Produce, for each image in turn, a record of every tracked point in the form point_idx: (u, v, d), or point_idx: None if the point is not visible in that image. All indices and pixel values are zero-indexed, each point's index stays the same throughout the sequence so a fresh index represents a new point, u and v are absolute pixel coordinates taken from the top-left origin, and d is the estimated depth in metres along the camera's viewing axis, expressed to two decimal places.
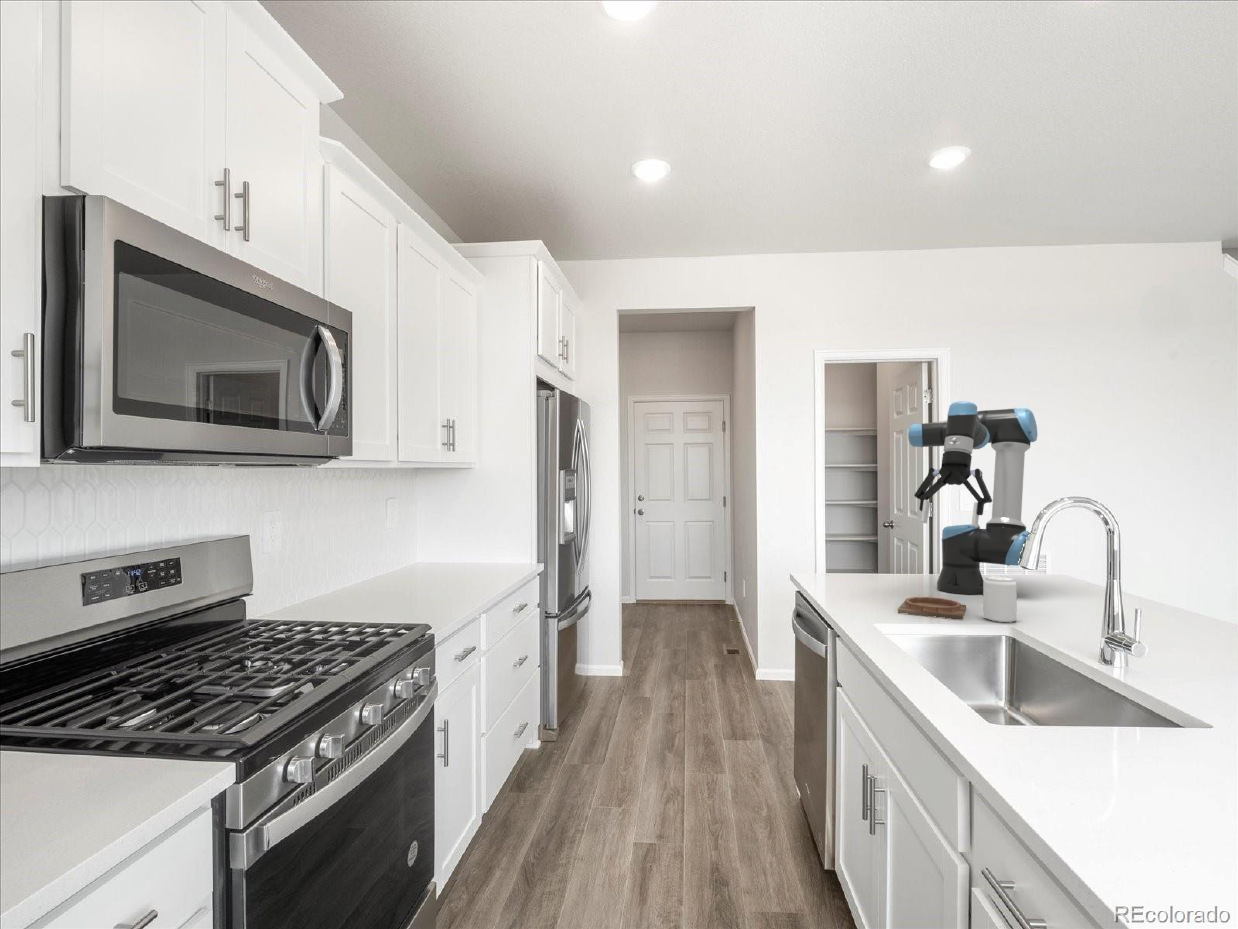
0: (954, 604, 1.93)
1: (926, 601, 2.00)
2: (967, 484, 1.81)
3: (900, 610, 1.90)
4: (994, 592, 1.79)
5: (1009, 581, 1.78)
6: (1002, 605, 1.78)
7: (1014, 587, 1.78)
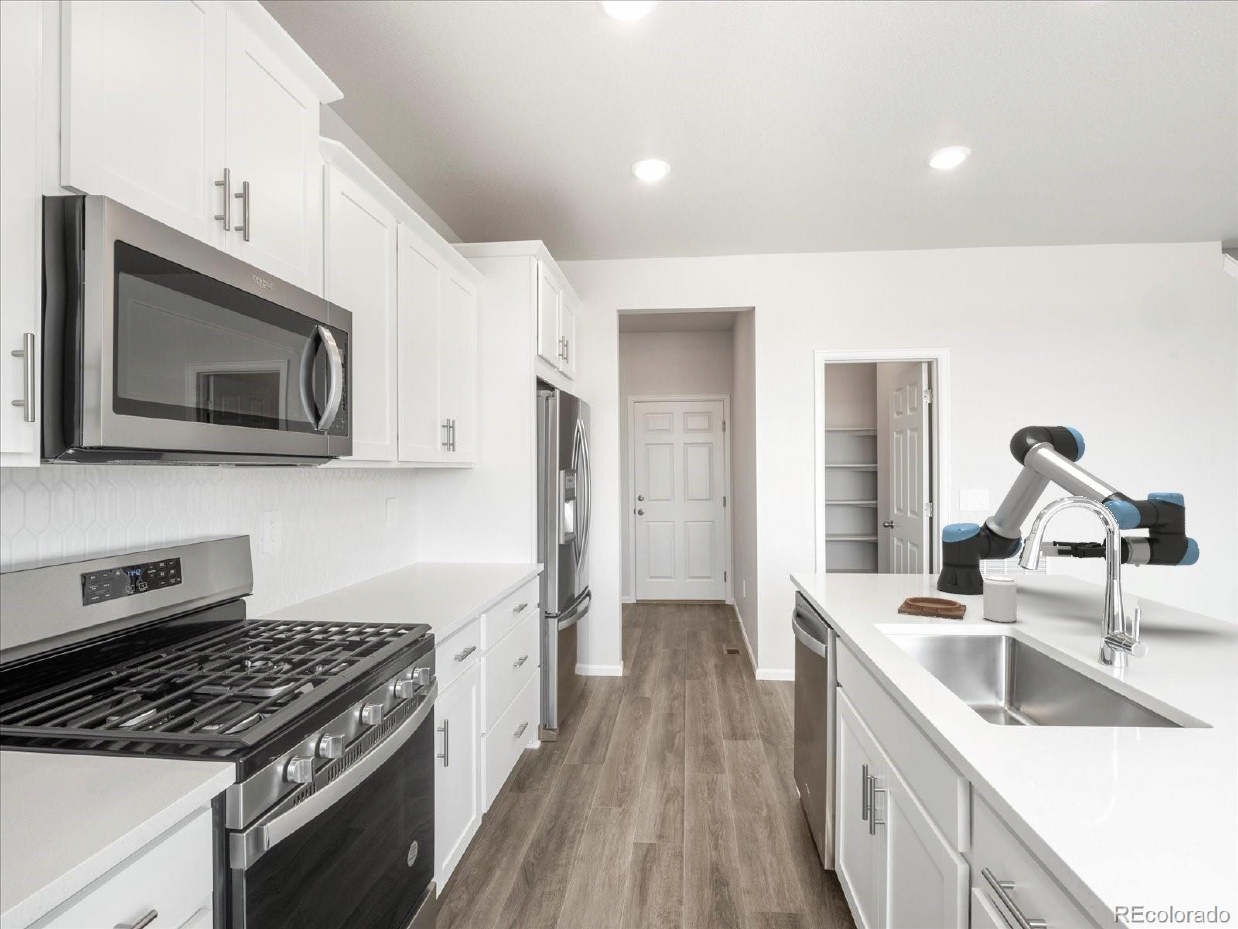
0: (954, 604, 1.93)
1: (926, 601, 2.00)
2: None
3: (900, 610, 1.90)
4: (993, 592, 1.79)
5: (1009, 581, 1.78)
6: (1002, 605, 1.78)
7: (1014, 587, 1.78)
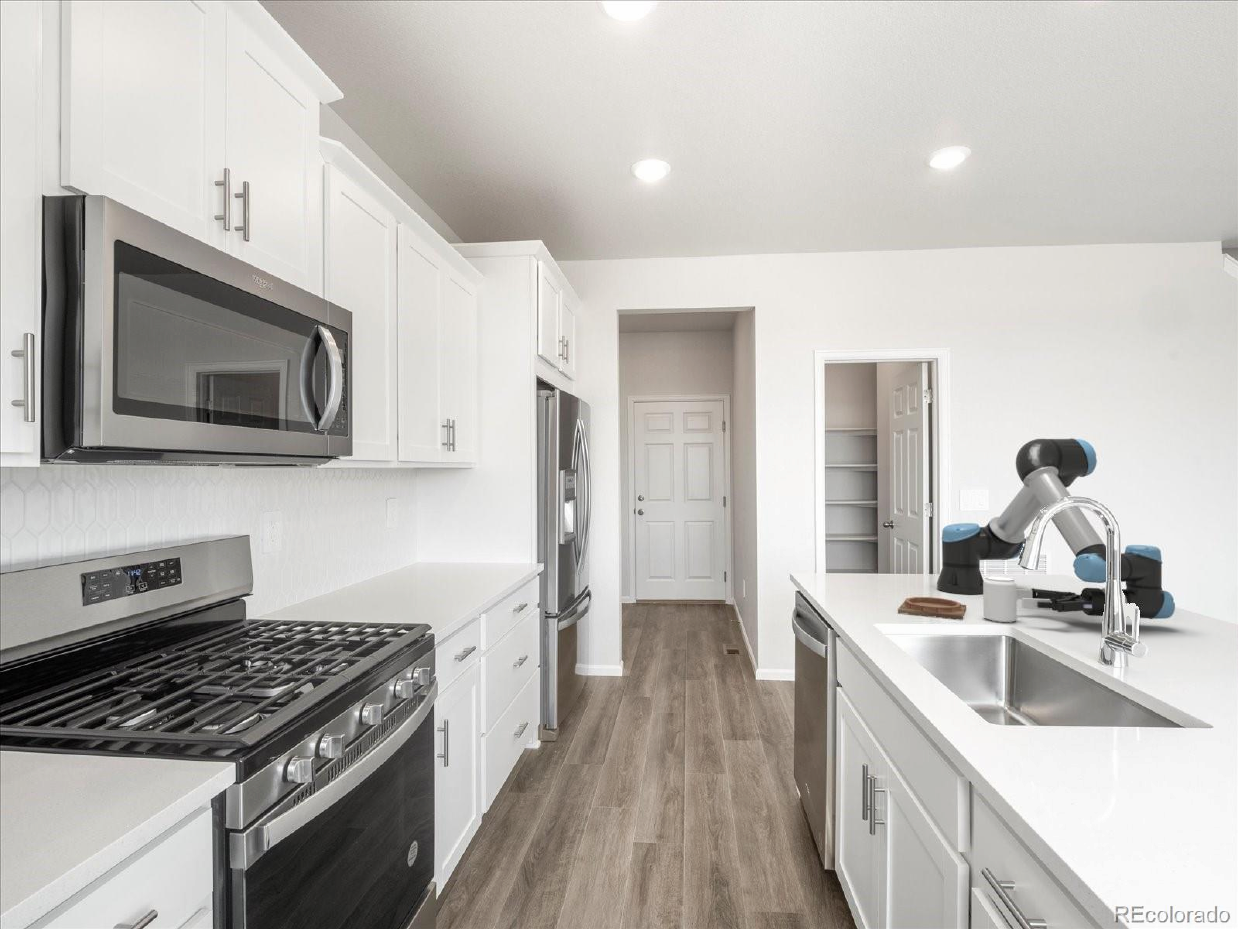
0: (954, 604, 1.93)
1: (926, 601, 2.00)
2: None
3: (900, 610, 1.90)
4: (993, 592, 1.79)
5: (1009, 581, 1.78)
6: (1002, 605, 1.78)
7: (1014, 587, 1.78)
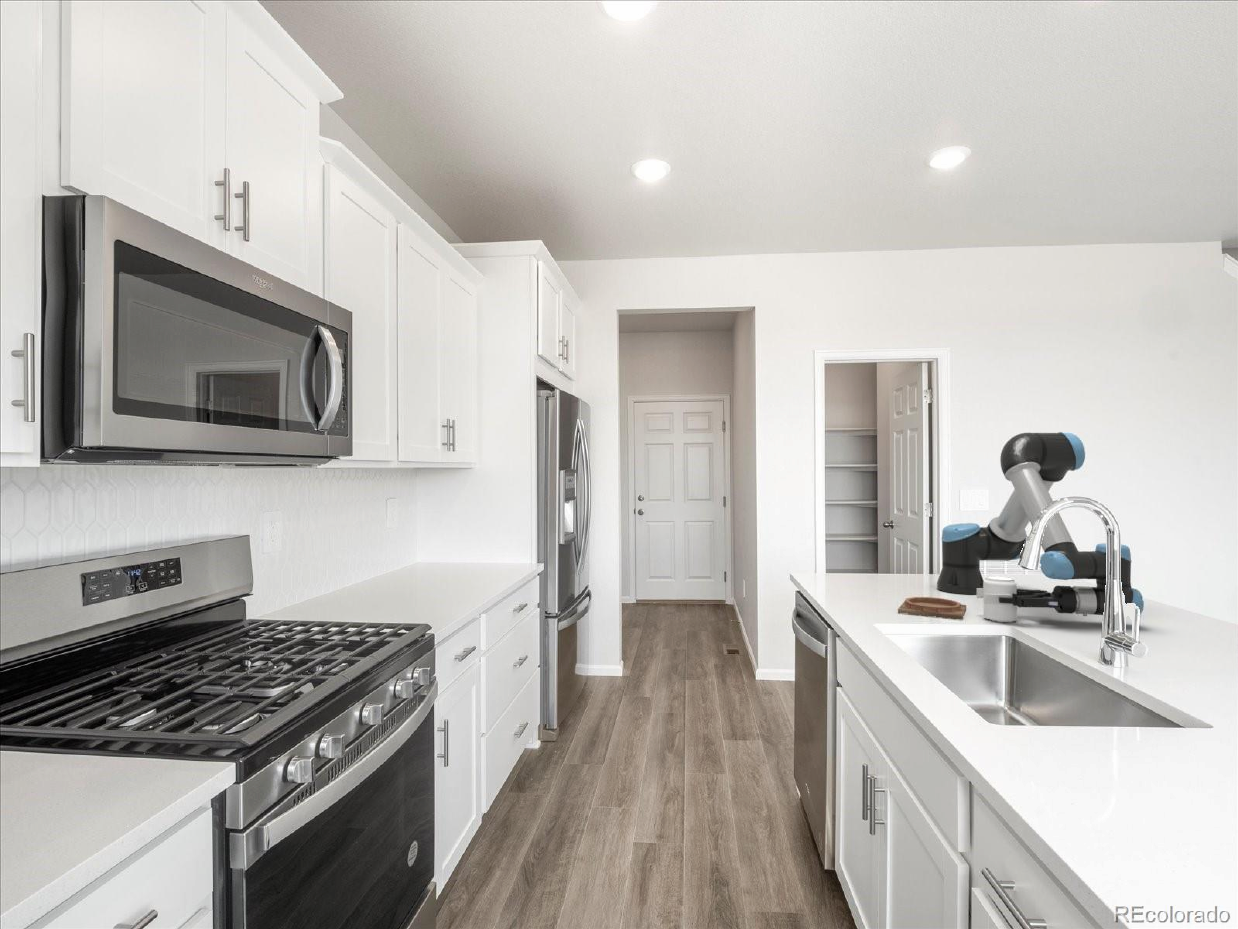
0: (954, 604, 1.93)
1: (926, 601, 2.00)
2: None
3: (900, 610, 1.90)
4: (994, 592, 1.79)
5: (1009, 581, 1.78)
6: (1002, 605, 1.78)
7: (1014, 587, 1.78)
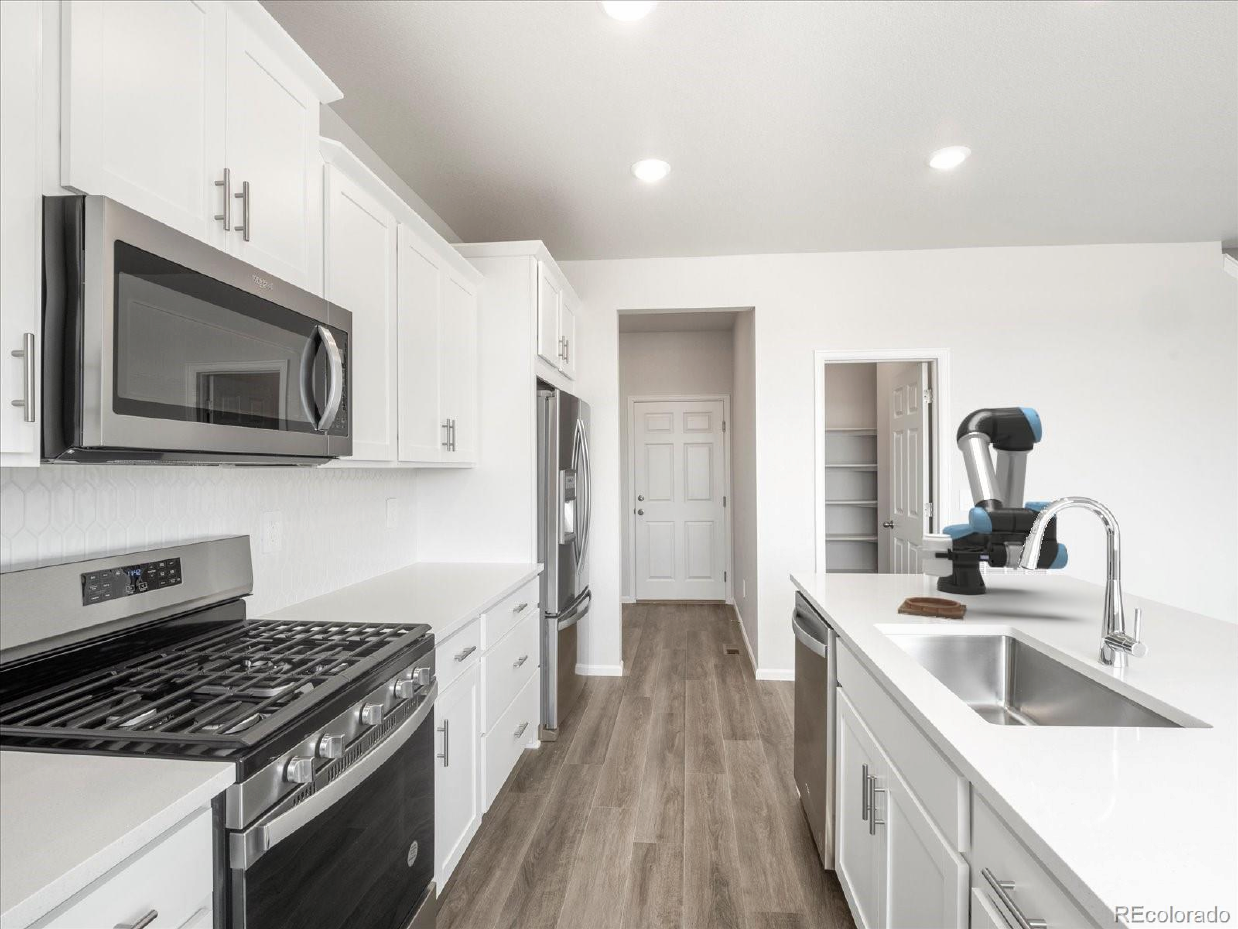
0: (954, 604, 1.93)
1: (926, 601, 2.00)
2: None
3: (900, 610, 1.90)
4: (931, 548, 1.90)
5: (945, 537, 1.89)
6: (938, 560, 1.88)
7: (950, 543, 1.89)
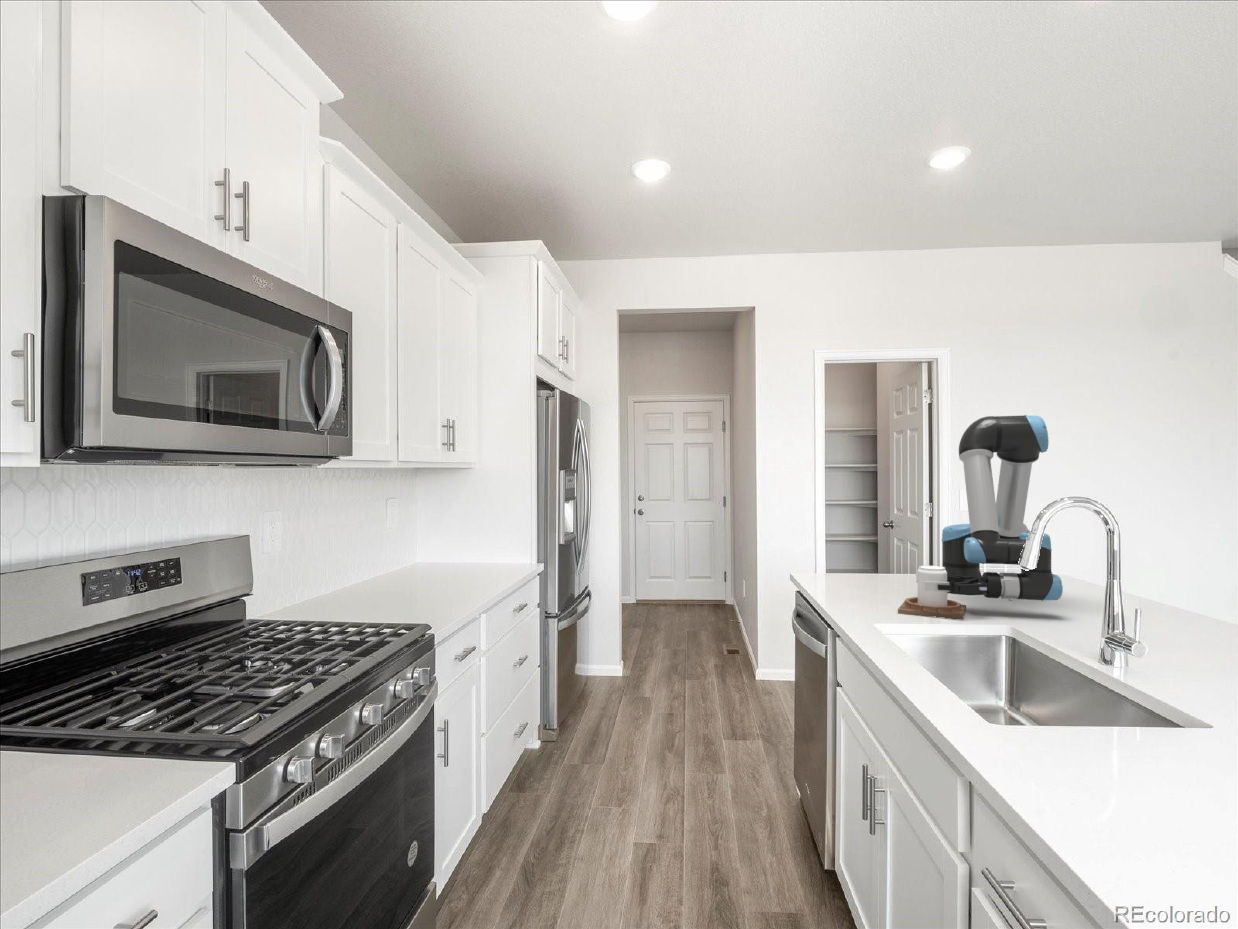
0: (954, 604, 1.93)
1: None
2: None
3: (900, 610, 1.90)
4: (925, 580, 1.91)
5: (940, 570, 1.90)
6: (933, 592, 1.90)
7: (944, 575, 1.90)
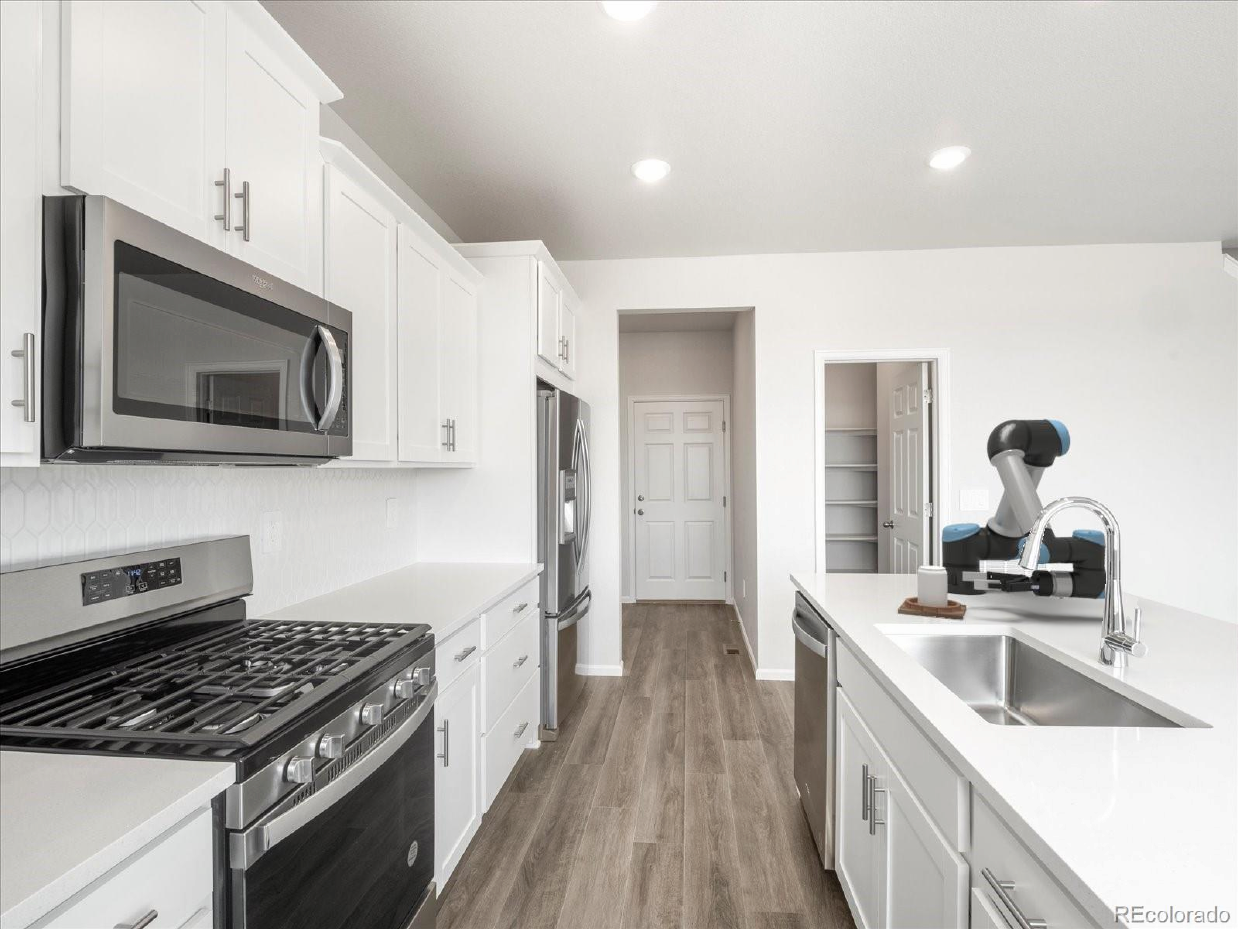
0: (954, 604, 1.93)
1: None
2: None
3: (900, 610, 1.90)
4: (926, 580, 1.91)
5: (940, 570, 1.90)
6: (934, 592, 1.90)
7: (945, 576, 1.90)
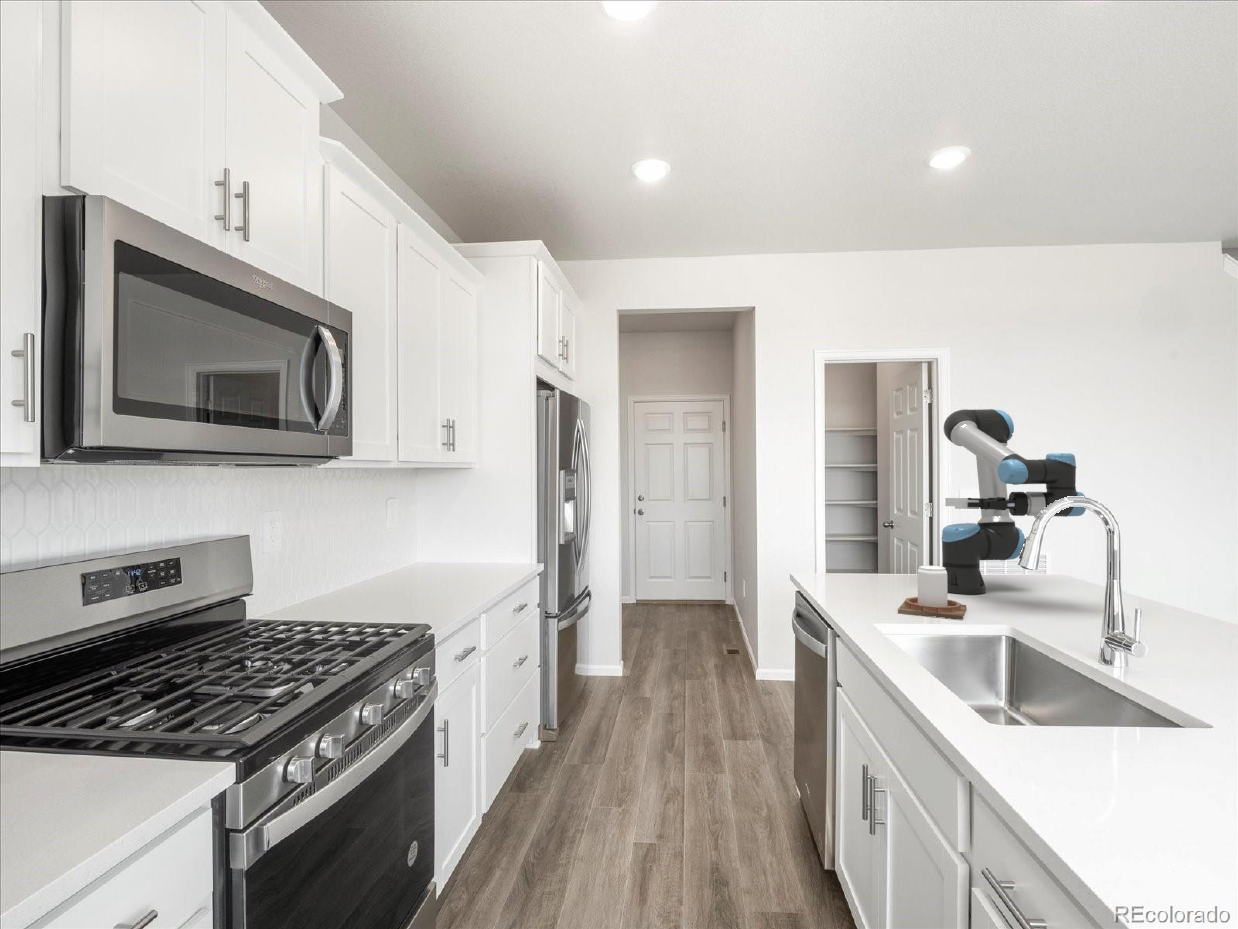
0: (954, 604, 1.93)
1: None
2: None
3: (900, 610, 1.90)
4: (926, 580, 1.91)
5: (940, 570, 1.90)
6: (934, 592, 1.90)
7: (945, 576, 1.90)
